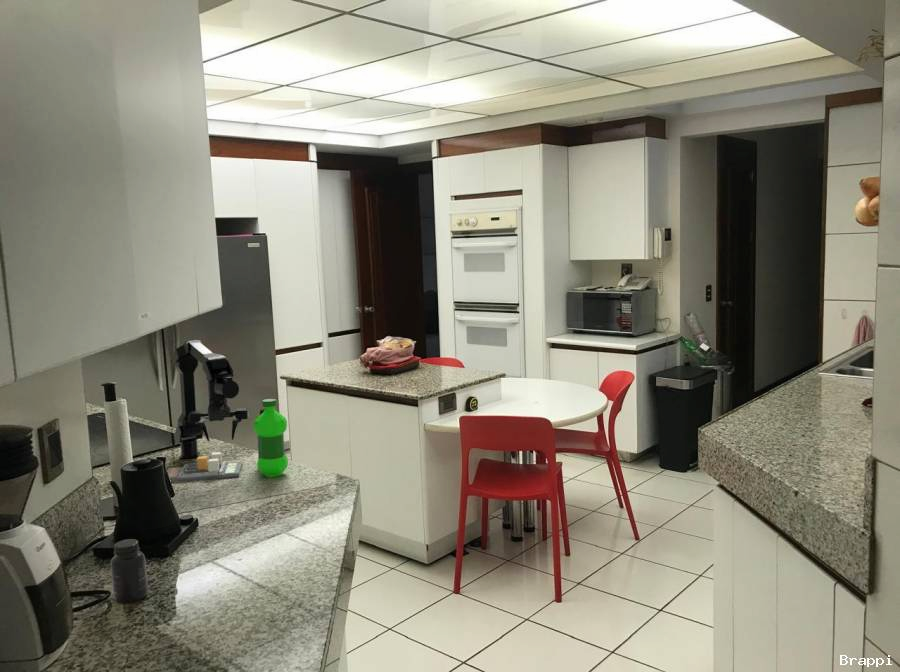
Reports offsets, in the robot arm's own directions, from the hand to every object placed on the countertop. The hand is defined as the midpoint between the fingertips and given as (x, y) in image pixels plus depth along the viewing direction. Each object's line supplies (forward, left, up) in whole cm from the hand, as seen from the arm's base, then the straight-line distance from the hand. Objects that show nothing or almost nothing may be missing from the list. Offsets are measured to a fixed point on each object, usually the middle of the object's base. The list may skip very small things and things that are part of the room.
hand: (220, 440), depth 240 cm
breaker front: (+4, -2, -10) cm, 11 cm away
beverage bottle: (-3, +15, -11) cm, 19 cm away
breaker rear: (-4, -2, -10) cm, 11 cm away
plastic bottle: (+7, +17, -11) cm, 21 cm away
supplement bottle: (+87, -9, -11) cm, 88 cm away
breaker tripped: (0, -6, -10) cm, 11 cm away
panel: (0, -6, -11) cm, 13 cm away
